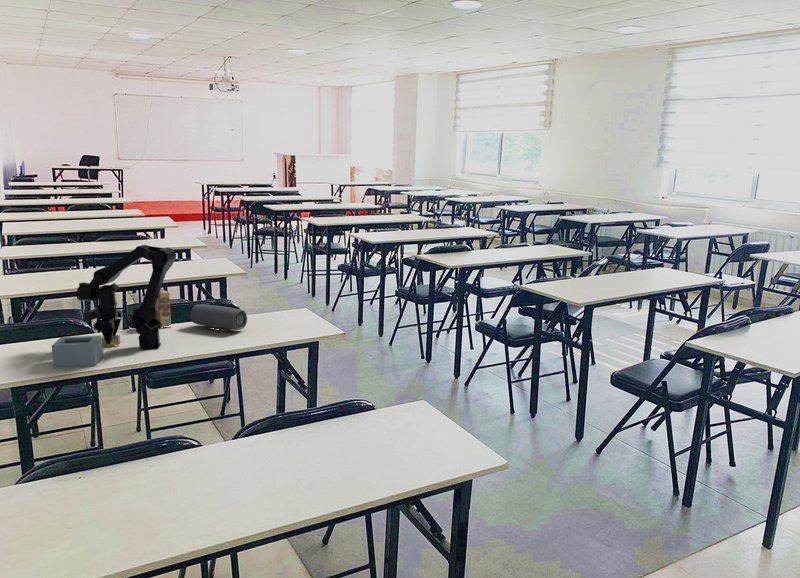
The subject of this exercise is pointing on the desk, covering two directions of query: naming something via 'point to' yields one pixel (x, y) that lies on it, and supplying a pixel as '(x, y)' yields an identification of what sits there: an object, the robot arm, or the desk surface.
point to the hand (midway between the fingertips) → (110, 341)
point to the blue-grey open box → (77, 351)
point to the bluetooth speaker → (219, 317)
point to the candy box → (163, 308)
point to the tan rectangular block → (114, 341)
